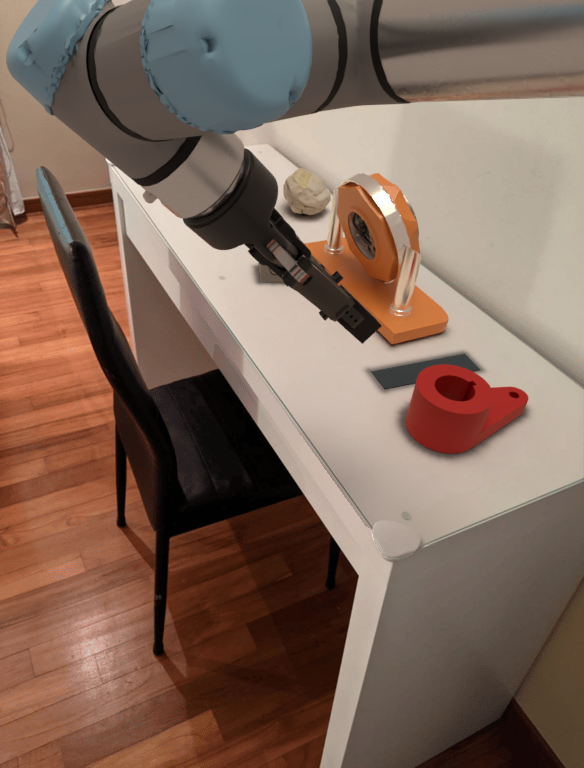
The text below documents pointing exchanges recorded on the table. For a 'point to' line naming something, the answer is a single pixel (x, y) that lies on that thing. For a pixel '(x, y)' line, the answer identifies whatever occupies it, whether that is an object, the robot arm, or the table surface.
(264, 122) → the robot arm
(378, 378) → the strip
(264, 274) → the dice cube
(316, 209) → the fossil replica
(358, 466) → the table surface
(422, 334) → the desk clock
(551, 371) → the table surface
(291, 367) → the table surface
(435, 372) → the lever
